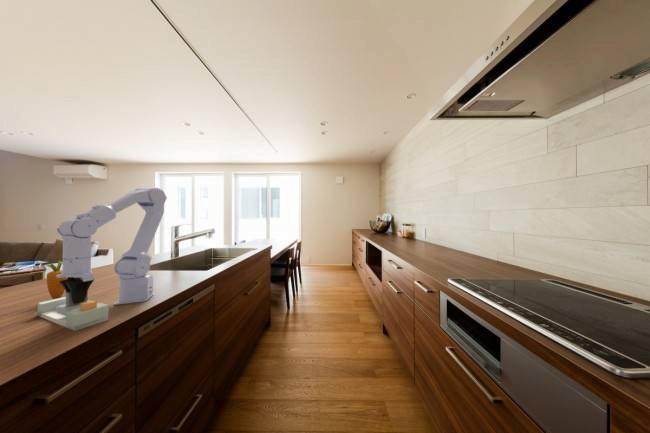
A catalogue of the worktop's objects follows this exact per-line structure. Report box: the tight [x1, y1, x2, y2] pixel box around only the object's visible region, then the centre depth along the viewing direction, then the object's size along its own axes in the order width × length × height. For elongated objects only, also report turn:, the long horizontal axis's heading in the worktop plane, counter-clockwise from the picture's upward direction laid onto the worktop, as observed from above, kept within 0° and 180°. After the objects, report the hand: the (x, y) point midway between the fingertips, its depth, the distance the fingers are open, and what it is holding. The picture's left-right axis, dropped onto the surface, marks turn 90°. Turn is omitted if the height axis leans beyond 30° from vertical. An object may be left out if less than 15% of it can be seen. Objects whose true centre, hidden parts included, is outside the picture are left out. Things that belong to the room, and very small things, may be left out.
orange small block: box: [80, 299, 98, 311], centre depth 63 cm, size 3×3×4 cm
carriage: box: [57, 290, 91, 316], centre depth 66 cm, size 6×6×6 cm
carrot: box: [46, 260, 68, 300], centre depth 81 cm, size 5×5×15 cm
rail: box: [37, 296, 110, 332], centre depth 67 cm, size 25×7×4 cm, turn 68°
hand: (76, 302), depth 66 cm, fingers closed on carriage, 2 cm apart
